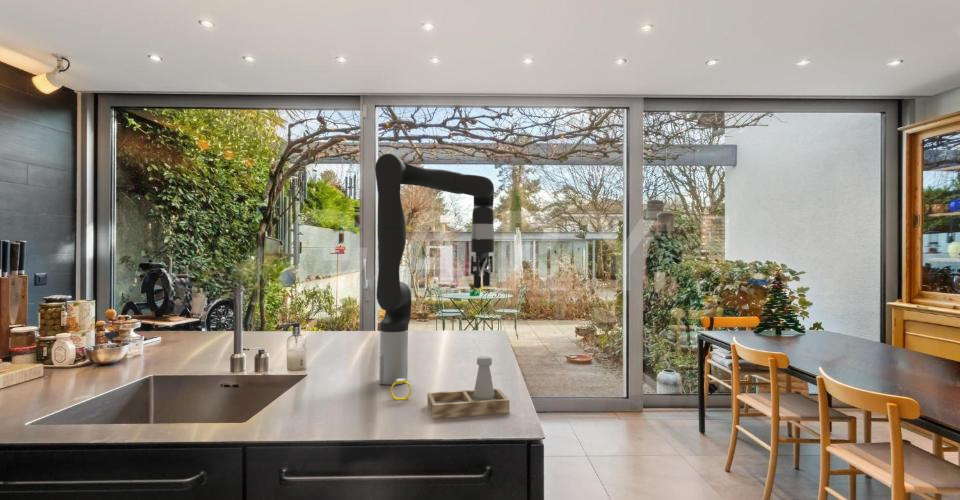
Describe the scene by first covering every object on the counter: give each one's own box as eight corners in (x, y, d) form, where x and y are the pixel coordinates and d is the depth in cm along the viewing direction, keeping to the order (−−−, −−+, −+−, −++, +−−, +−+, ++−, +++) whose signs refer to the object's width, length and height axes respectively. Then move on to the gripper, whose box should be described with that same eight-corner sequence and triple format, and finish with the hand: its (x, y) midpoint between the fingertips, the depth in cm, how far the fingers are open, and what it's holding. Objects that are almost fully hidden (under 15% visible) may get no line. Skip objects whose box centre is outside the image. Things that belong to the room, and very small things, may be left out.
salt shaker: (492, 406, 129) (492, 359, 129) (471, 405, 131) (472, 358, 131) (495, 400, 135) (496, 354, 135) (476, 398, 136) (476, 353, 136)
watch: (390, 402, 137) (389, 381, 137) (391, 399, 140) (390, 379, 139) (411, 400, 138) (410, 379, 137) (411, 397, 140) (410, 377, 140)
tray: (433, 418, 123) (433, 405, 123) (427, 404, 134) (427, 392, 134) (509, 413, 128) (509, 400, 128) (498, 400, 139) (498, 388, 139)
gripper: (479, 238, 164) (479, 285, 164) (463, 237, 150) (463, 288, 150) (500, 238, 161) (499, 285, 161) (485, 237, 148) (485, 289, 148)
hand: (481, 286), depth 156 cm, fingers open, 8 cm apart
